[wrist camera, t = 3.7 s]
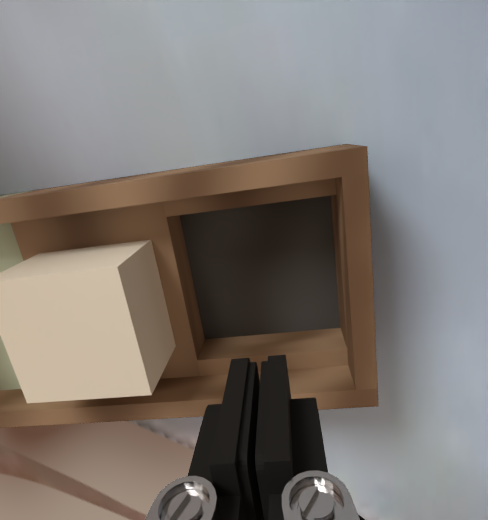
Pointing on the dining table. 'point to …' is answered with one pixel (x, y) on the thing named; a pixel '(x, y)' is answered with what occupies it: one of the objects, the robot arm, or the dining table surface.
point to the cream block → (86, 323)
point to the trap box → (223, 276)
